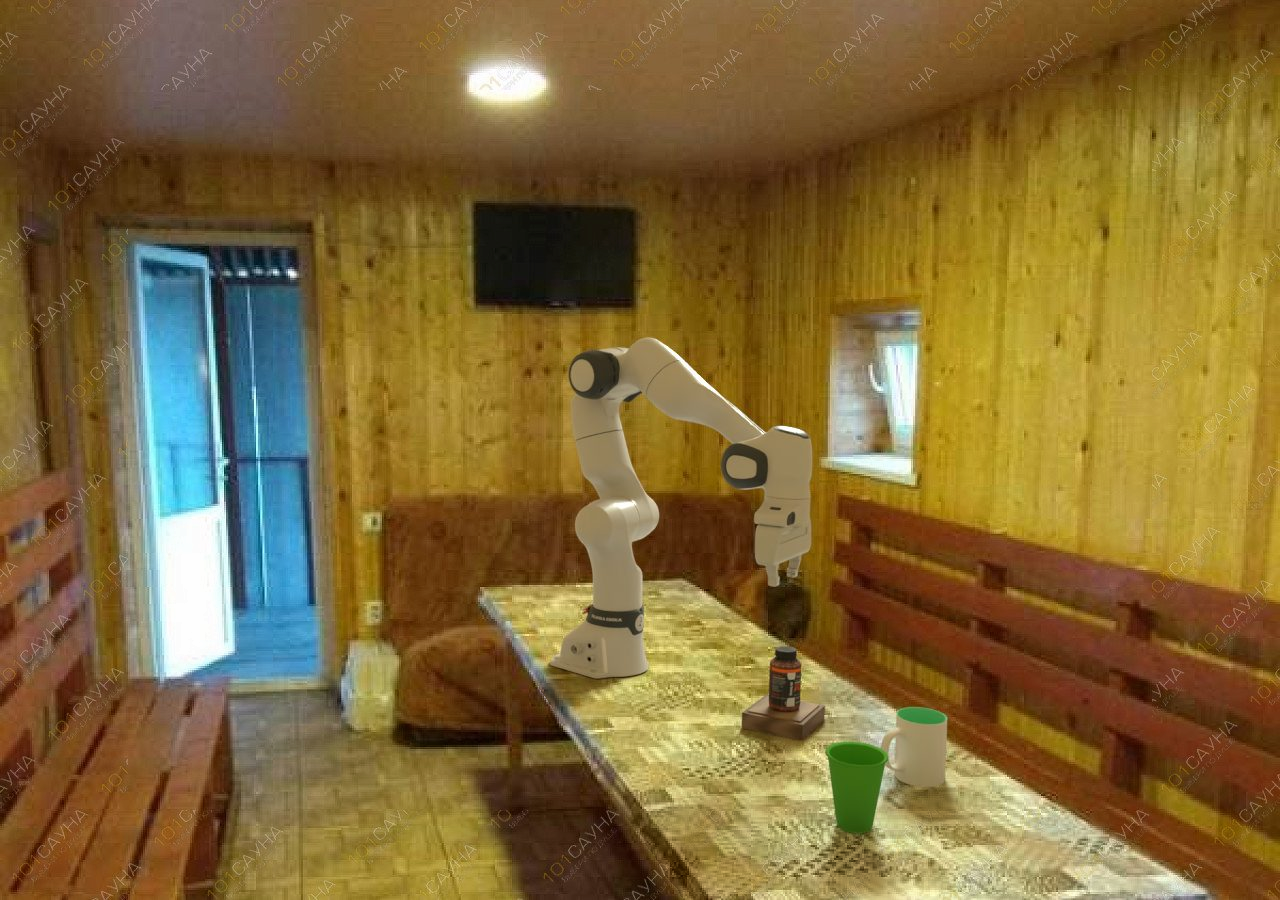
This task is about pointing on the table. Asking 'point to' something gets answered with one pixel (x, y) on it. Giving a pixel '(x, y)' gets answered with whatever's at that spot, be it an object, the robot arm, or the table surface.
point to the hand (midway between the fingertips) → (782, 581)
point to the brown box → (783, 719)
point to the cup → (855, 783)
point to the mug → (918, 746)
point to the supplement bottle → (785, 680)
